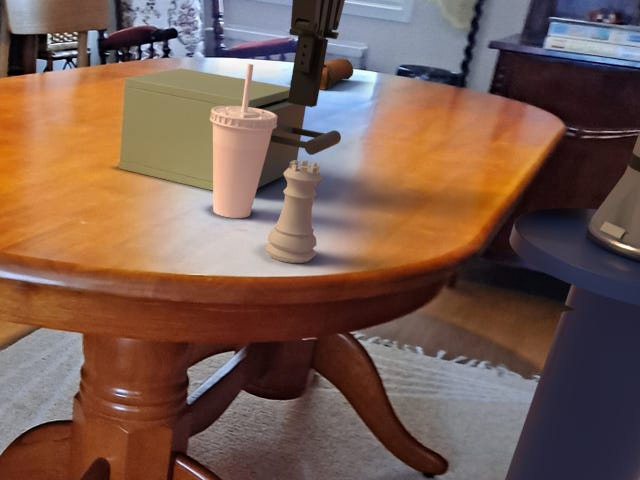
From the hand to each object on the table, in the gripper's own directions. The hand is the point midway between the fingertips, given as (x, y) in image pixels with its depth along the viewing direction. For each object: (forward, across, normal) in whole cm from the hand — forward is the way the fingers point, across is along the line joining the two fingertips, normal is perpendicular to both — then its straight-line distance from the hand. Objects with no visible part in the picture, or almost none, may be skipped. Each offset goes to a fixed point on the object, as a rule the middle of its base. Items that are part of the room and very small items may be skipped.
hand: (302, 103), depth 88 cm
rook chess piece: (+10, +20, +8) cm, 24 cm away
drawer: (+8, 0, -6) cm, 10 cm away
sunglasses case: (+10, -83, -27) cm, 88 cm away
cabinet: (+9, 0, -11) cm, 14 cm away
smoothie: (+10, +12, -1) cm, 15 cm away
